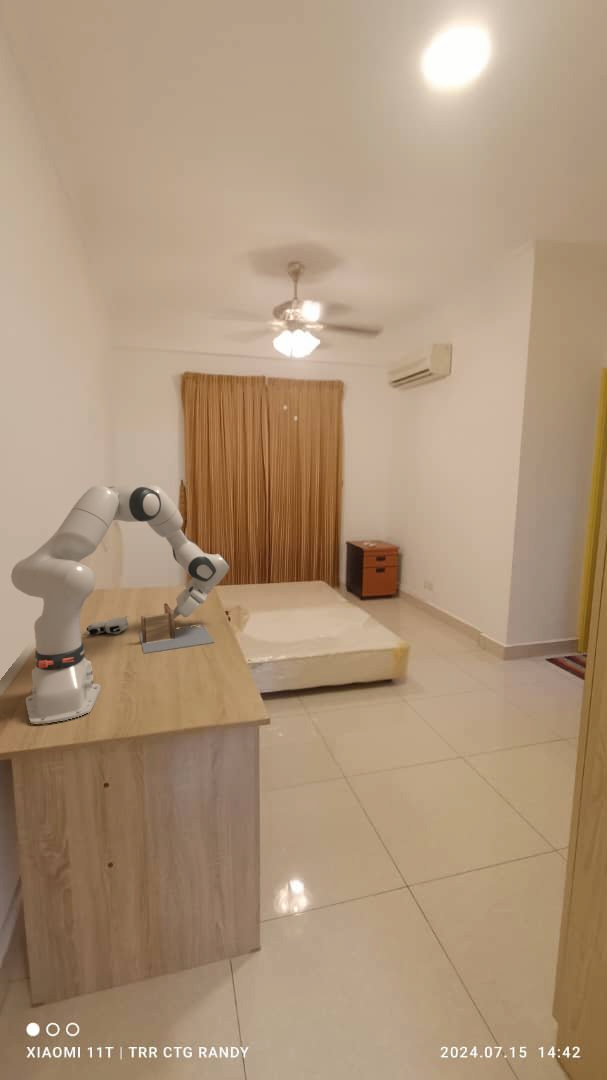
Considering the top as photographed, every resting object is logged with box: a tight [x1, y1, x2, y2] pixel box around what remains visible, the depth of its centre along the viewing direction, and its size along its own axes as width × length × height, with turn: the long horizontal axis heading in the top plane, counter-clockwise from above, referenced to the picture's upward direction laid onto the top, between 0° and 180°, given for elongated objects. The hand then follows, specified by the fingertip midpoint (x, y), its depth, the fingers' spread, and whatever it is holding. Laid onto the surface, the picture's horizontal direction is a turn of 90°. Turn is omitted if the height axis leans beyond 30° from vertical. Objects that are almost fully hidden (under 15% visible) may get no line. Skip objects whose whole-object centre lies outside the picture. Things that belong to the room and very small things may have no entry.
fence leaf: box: [163, 603, 172, 637], centre depth 180 cm, size 1×11×10 cm, turn 26°
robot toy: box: [84, 615, 129, 636], centre depth 183 cm, size 12×4×15 cm
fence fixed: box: [140, 609, 176, 643], centre depth 172 cm, size 2×11×11 cm, turn 113°
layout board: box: [138, 623, 215, 655], centre depth 176 cm, size 22×24×1 cm
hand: (172, 617), depth 183 cm, fingers closed
